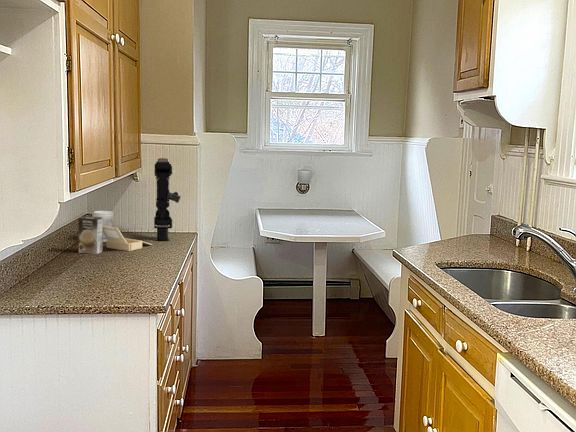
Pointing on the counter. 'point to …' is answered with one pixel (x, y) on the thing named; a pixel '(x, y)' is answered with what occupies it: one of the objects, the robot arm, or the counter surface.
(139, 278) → the counter surface
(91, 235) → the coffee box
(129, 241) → the carton
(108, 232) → the flap
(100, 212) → the supplement tub
